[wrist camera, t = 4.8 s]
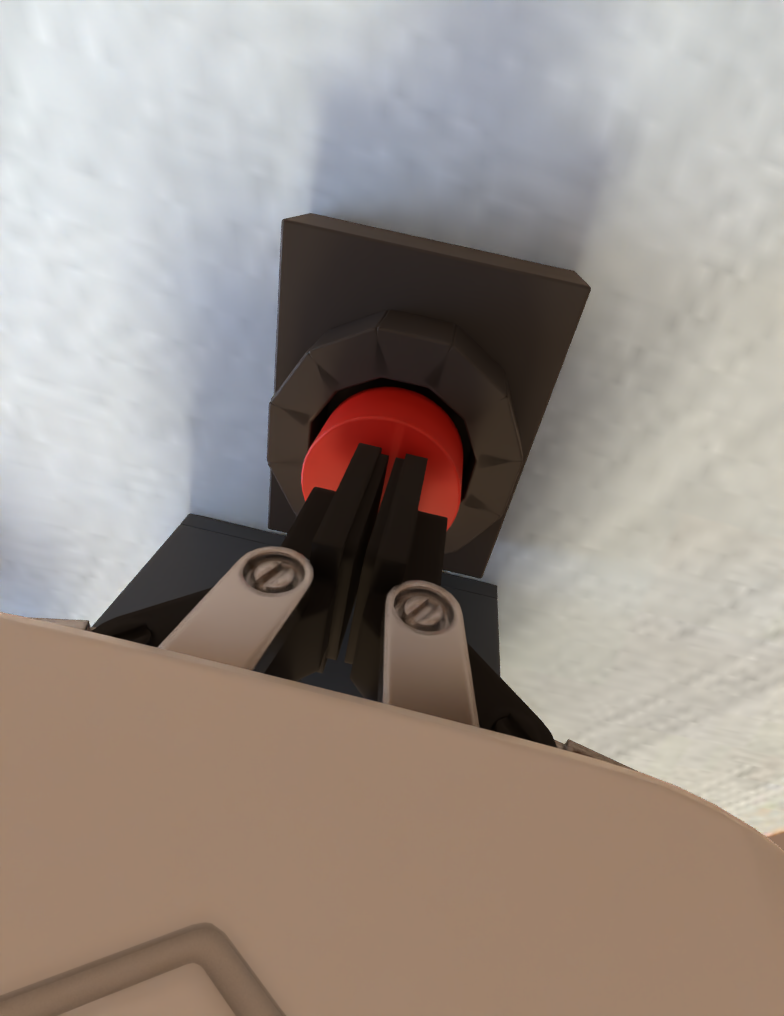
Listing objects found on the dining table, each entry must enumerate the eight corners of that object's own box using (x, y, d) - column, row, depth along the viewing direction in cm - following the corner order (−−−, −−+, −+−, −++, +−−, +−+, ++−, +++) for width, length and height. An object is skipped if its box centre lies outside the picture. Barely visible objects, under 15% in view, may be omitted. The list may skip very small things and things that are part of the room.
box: (497, 585, 21) (504, 761, 15) (432, 745, 28) (417, 911, 22) (189, 512, 22) (66, 655, 15) (200, 689, 29) (120, 836, 22)
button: (329, 370, 13) (307, 399, 11) (480, 405, 13) (480, 439, 11) (315, 497, 15) (295, 537, 14) (444, 527, 15) (439, 571, 13)
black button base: (308, 212, 15) (250, 224, 11) (576, 271, 15) (609, 303, 11) (288, 493, 20) (245, 564, 17) (481, 538, 20) (482, 619, 16)
